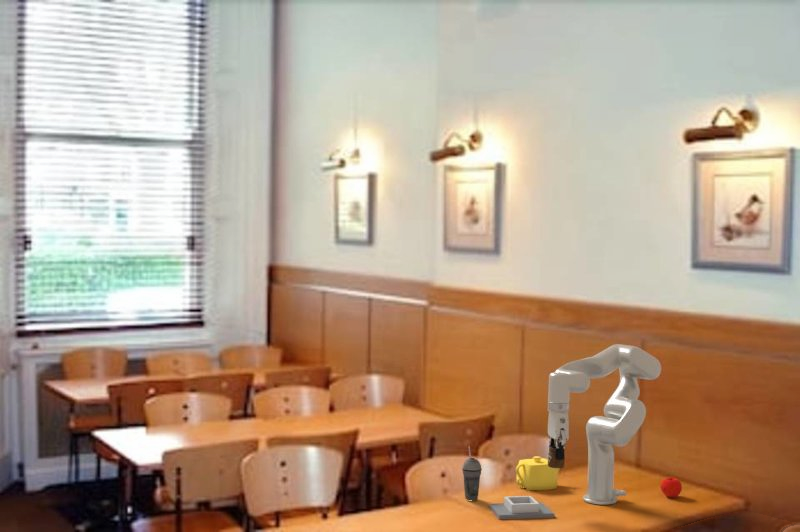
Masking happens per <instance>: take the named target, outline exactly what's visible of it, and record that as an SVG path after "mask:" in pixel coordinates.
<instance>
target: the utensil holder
mask: <svg viewBox="0 0 800 532" xmlns="http://www.w3.org/2000/svg"><path fill="white" fill-rule="evenodd" d="M559 442H560V441H558V443H559ZM554 443H556V440H555V439H554ZM555 448H556V446H550V448H549V447H548V454H547V460H548V466H549V467H551V468H560V469H563V468H564V467H565V461H566V455H565V454H566V453H564V459H563V460H556V459H555ZM549 450H550V451H549Z"/></svg>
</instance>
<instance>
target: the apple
mask: <svg viewBox="0 0 800 532" xmlns="http://www.w3.org/2000/svg"><path fill="white" fill-rule="evenodd" d="M682 485H683V484H682V483H681V481H680V480H679V479H678V478H676V477H675V478H674V477H665V478H663V479H662V480H661V482H660V484H659V487H660V490H661V492H662V494H663V495H664V496H666V497H667V498H673V499H674V498H678V496H679V495H680V494H681V492H682V489H683V486H682Z"/></svg>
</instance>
